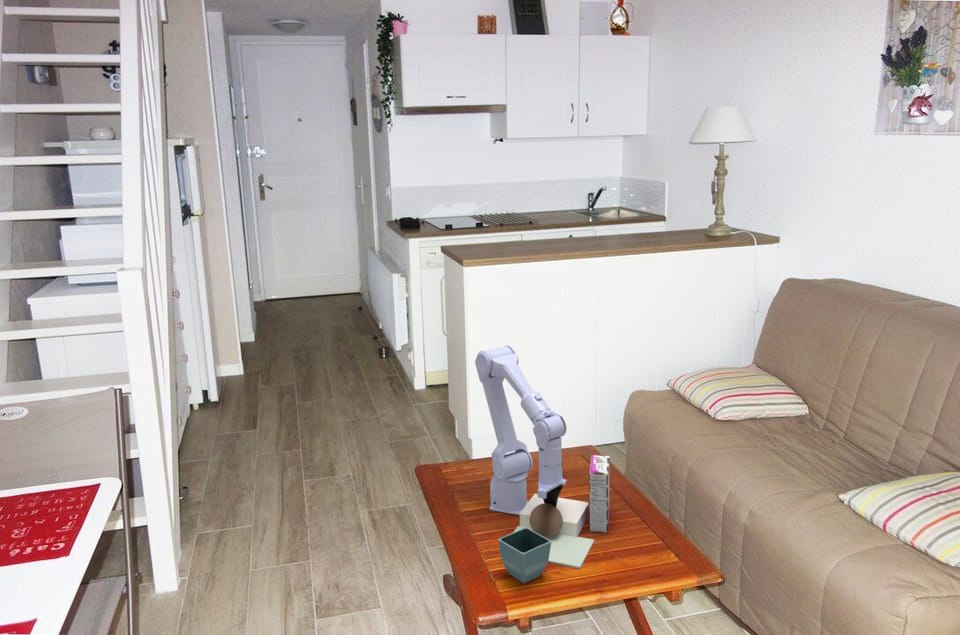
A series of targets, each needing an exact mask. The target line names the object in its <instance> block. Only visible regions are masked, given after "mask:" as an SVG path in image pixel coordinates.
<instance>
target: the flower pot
mask: <svg viewBox="0 0 960 635" xmlns="http://www.w3.org/2000/svg"><path fill="white" fill-rule="evenodd" d="M514 531H515V530H514ZM514 531H513V532H511V533H509V534H506V535H505V536H502V537H500V538H498V547H499V554H500V559H501V561H502V564H503V566H504V568H505V570H506V571H507V572H508V574H509V575H510V576H511V577H513V578H515V579H517V581H519V582H520V583H522V584H526V583H527V582H530V581H532V580H534V579H536V578H539V577H541V575H542V574H543V572H544V571H545V569H546V567H547V565H548V563H549V562H548V560H549V554H550V547H551V540H549V539H547V538H545V537H543V536H541V535H540V534H538V533H536V532H534V531H532V530H531V529H529V528H526V527H525V528H522V529H520V530H518V531H515V532H514Z"/></svg>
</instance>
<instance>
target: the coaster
mask: <svg viewBox="0 0 960 635" xmlns="http://www.w3.org/2000/svg"><path fill="white" fill-rule="evenodd" d="M562 523H563V519H562V515H561V513H560V511H559V510H558V509H557V508H556V507H554V506H553V505H551V504H547V503H544V504H540V505H538V506H536V507H535V508H534V509H533V510H532V512H531V514H530V526H531V528H532V530H533V531H534V532H536V533H538V534H540V535H541V536H543V537H552V536H554V535H556V534H557V533H558V532H559V531H560V529H561V527H562Z"/></svg>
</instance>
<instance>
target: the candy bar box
mask: <svg viewBox="0 0 960 635" xmlns="http://www.w3.org/2000/svg"><path fill="white" fill-rule="evenodd" d="M590 456H591V457H590V465H589V472H588V478H589V479H588V480H589V481H588V483H589V484H588V493H589V496H588V497H589V499H588V500H589V502H588V503H589V517H588V519H589V521H588V522H589V523H588V524H589V527H588V528H589V530H588V531H589V532H591V533H604V534H605V533H607V534H608V533H609V522H610V455H597V454H592V455H590Z"/></svg>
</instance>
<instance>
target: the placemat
mask: <svg viewBox="0 0 960 635" xmlns="http://www.w3.org/2000/svg"><path fill="white" fill-rule="evenodd" d="M522 528H525V527H522V526H520V525H517V526H516V528H515V530H514V531H513V532H515V531H518V530H520V529H522ZM526 528H527V527H526ZM529 529H531V530H532V528H529ZM532 531H533V530H532ZM545 538H547V539H549V540H551V547H550V554H549V560H548V563H549V564H555V565H559V566H564V567H570V568H575V569H578V570H579V569H581V568H582V566H583V564H584V562H585V560H586V558H587V556H588V555H589V553H590V550H591V549H592V547H593V544H594V543H595V539H592V538H587V537H580V536H578V537H576V536H571V535H565V534H560V533H557V534H556V535H554V536H552V537H545Z"/></svg>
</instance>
